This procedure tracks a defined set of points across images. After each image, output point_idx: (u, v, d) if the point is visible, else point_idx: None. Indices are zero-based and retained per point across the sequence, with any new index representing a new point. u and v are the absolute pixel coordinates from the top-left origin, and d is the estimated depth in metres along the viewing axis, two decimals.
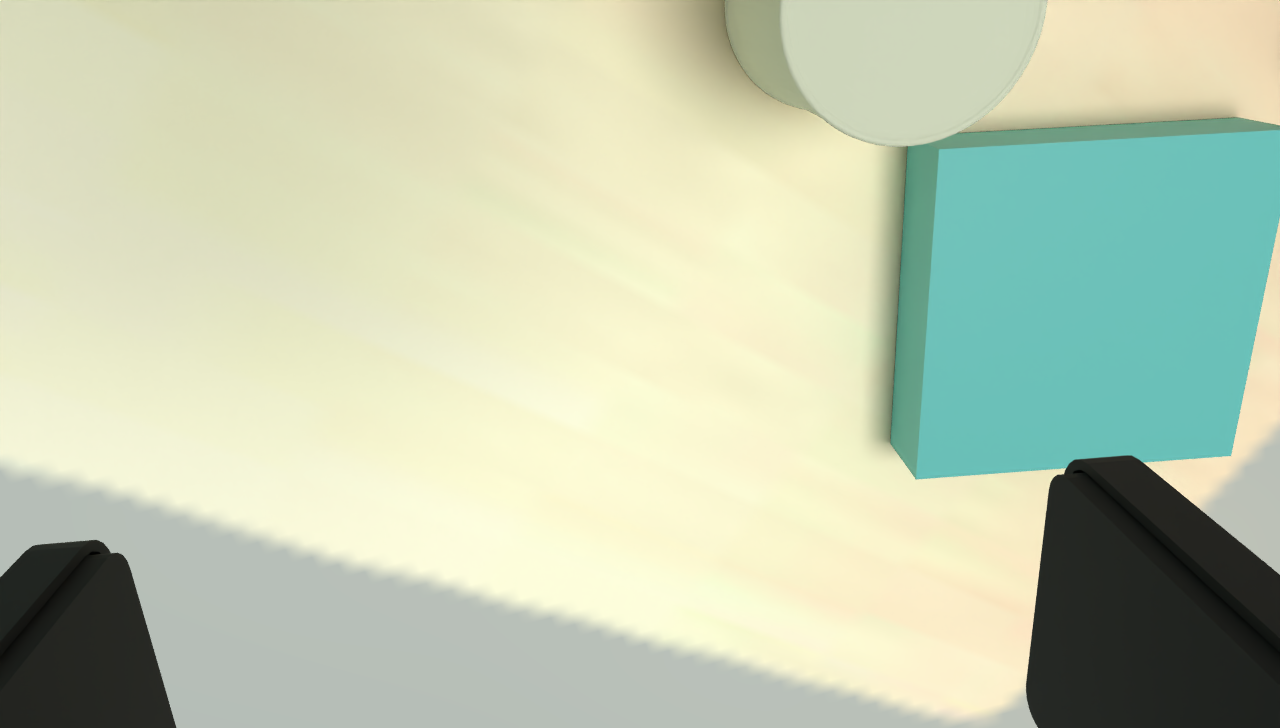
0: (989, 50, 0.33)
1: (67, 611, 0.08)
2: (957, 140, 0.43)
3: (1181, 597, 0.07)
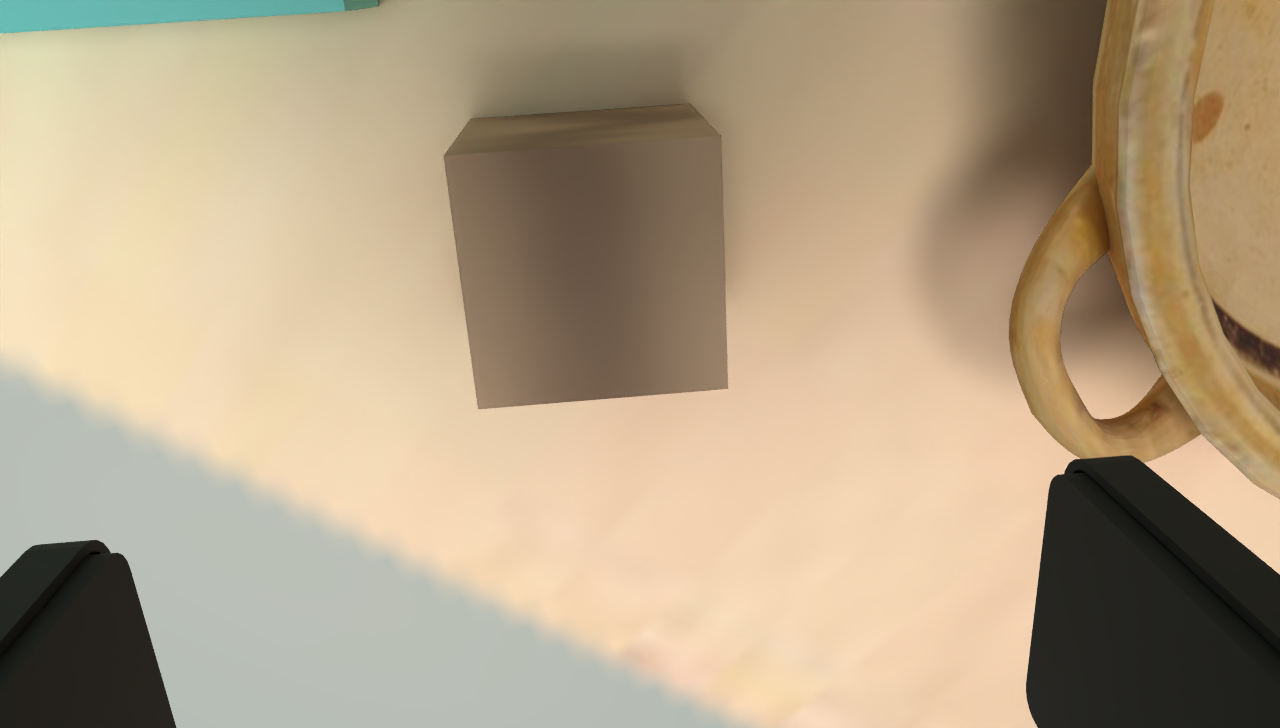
0: None
1: (67, 611, 0.08)
2: None
3: (1181, 598, 0.07)
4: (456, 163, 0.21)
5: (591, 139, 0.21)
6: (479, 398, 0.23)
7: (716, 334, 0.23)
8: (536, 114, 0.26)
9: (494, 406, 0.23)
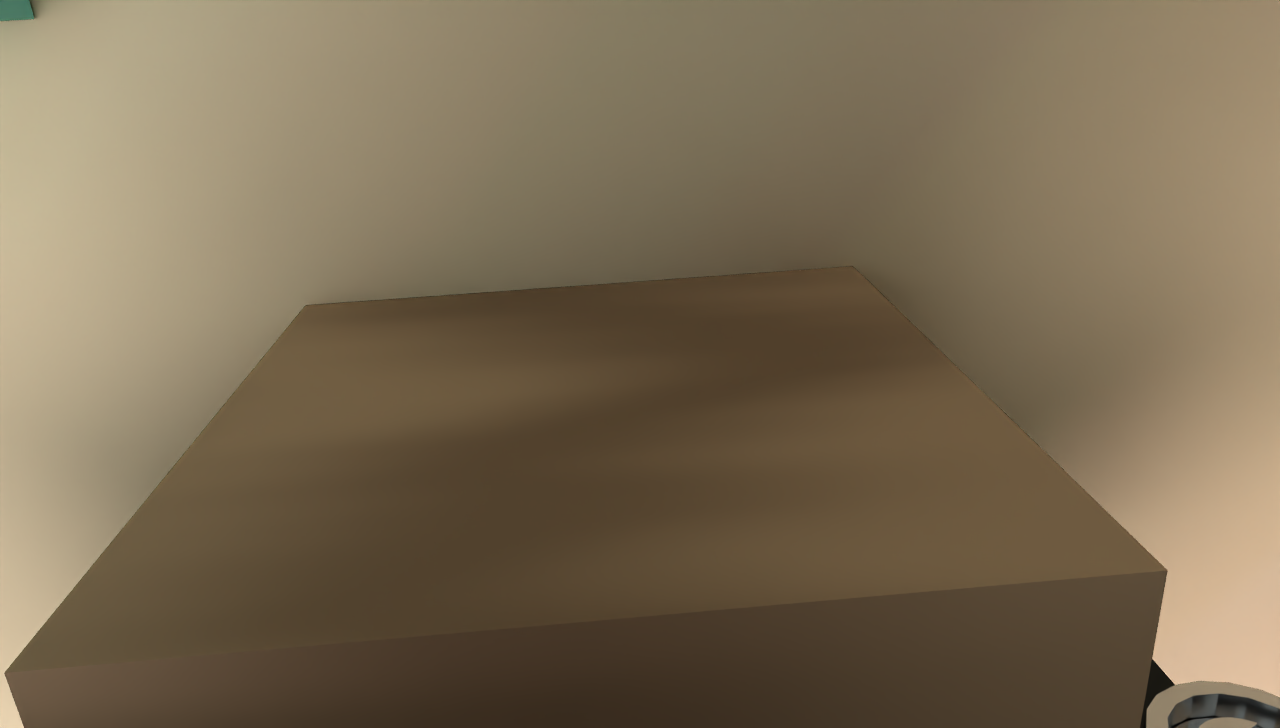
0: None
1: None
2: None
3: None
4: (64, 697, 0.05)
5: (631, 536, 0.06)
6: None
7: None
8: (471, 296, 0.10)
9: None
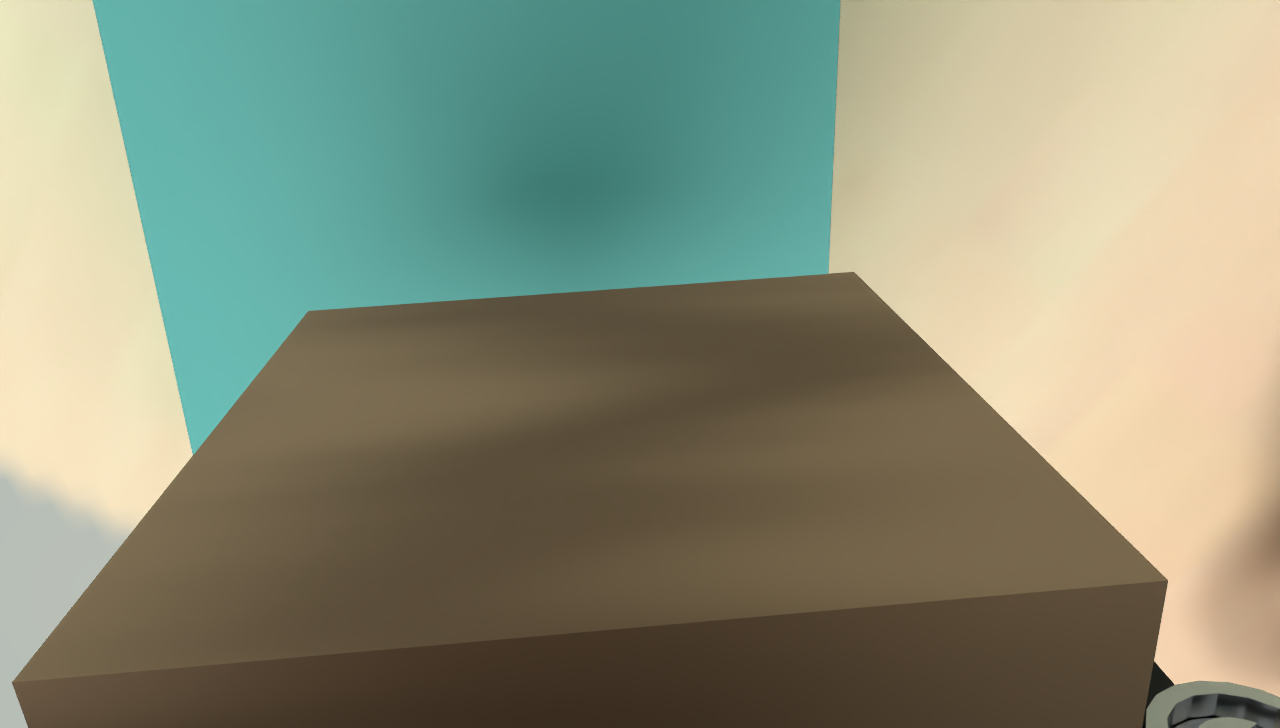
0: None
1: None
2: None
3: None
4: (72, 706, 0.05)
5: (634, 545, 0.06)
6: None
7: None
8: (473, 301, 0.10)
9: None
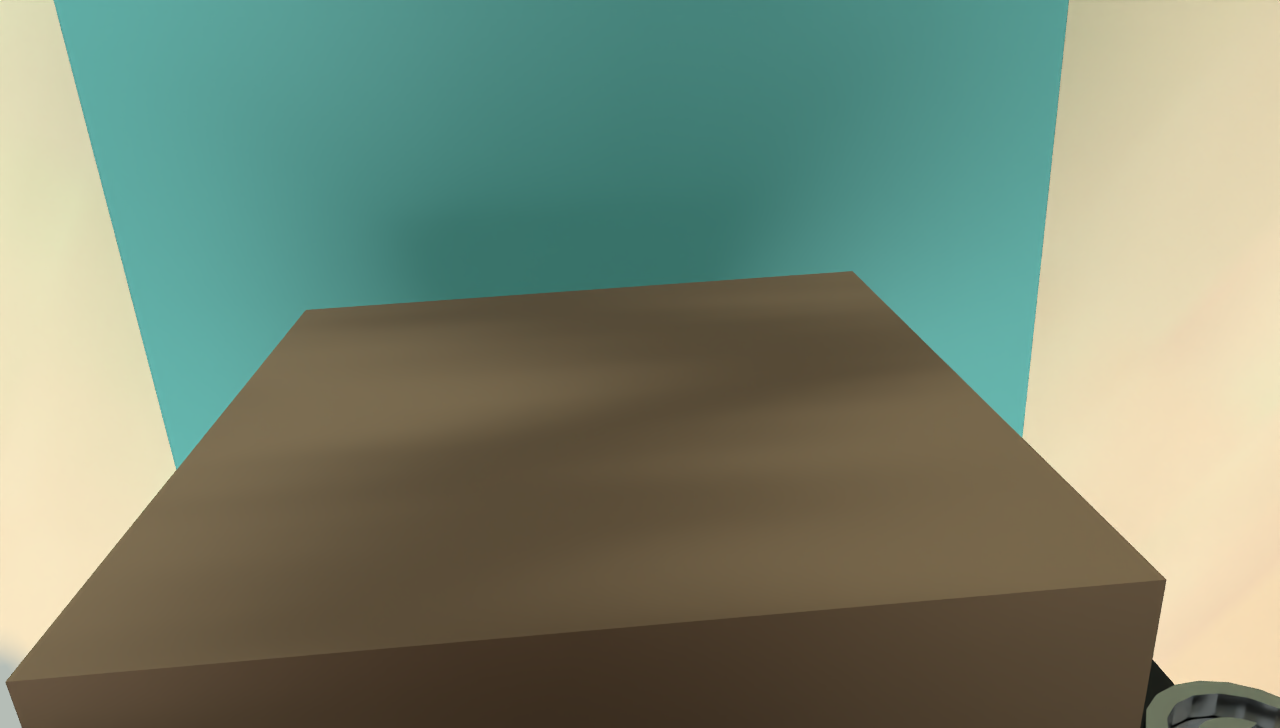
0: None
1: None
2: None
3: None
4: (66, 706, 0.05)
5: (631, 544, 0.06)
6: None
7: None
8: (471, 301, 0.10)
9: None
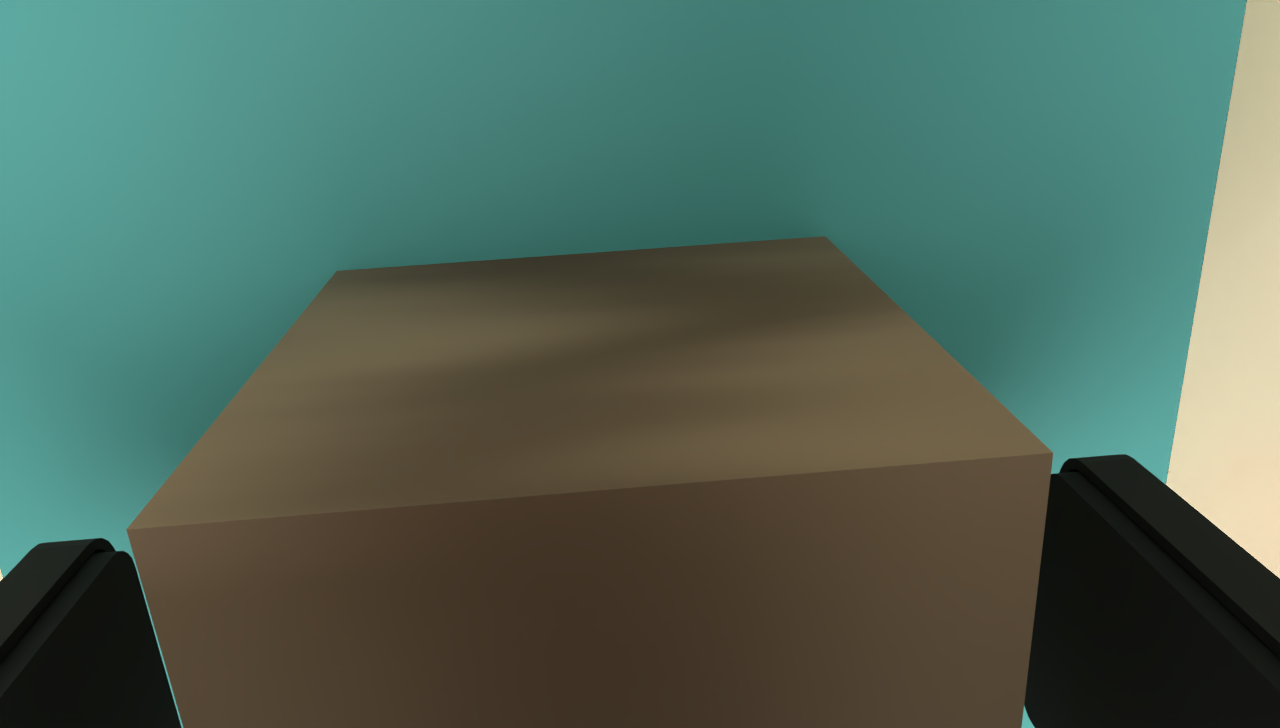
0: None
1: (73, 608, 0.08)
2: None
3: (1174, 596, 0.07)
4: (172, 550, 0.06)
5: (624, 435, 0.07)
6: None
7: None
8: (484, 262, 0.12)
9: None
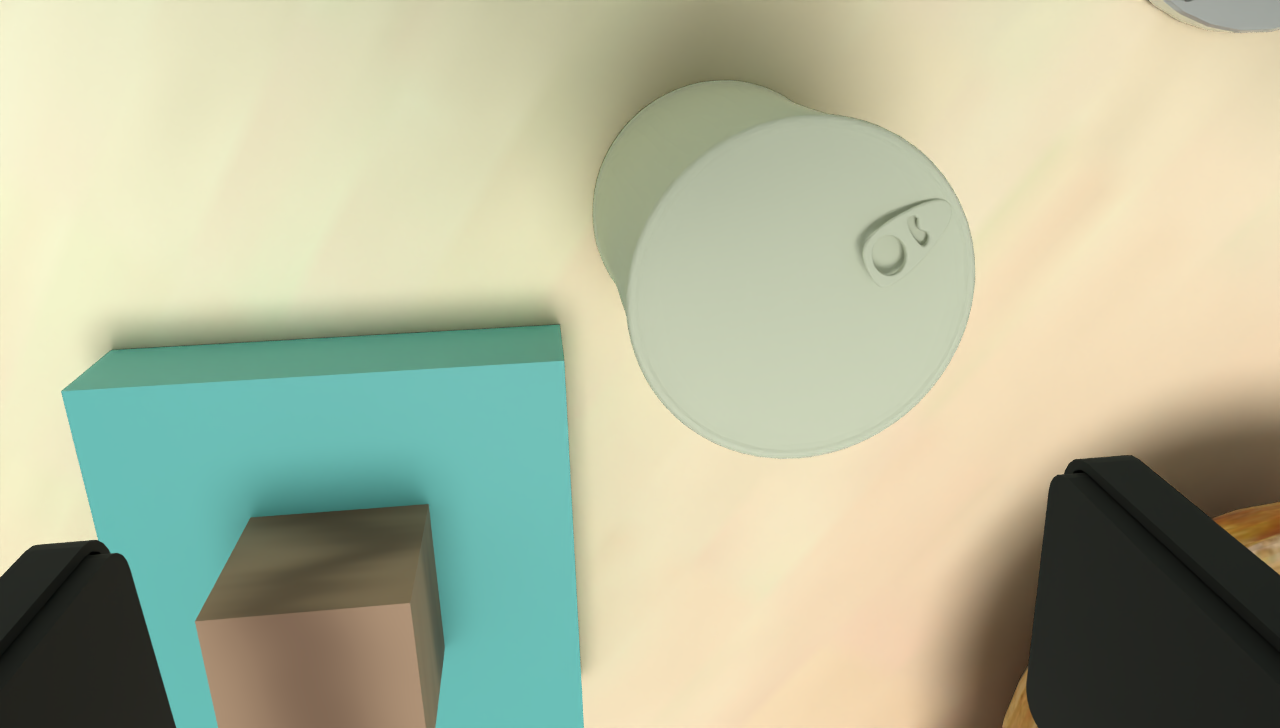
0: (745, 398, 0.25)
1: (67, 611, 0.08)
2: None
3: (1181, 597, 0.07)
4: (205, 626, 0.27)
5: (316, 596, 0.28)
6: None
7: None
8: (303, 514, 0.33)
9: None
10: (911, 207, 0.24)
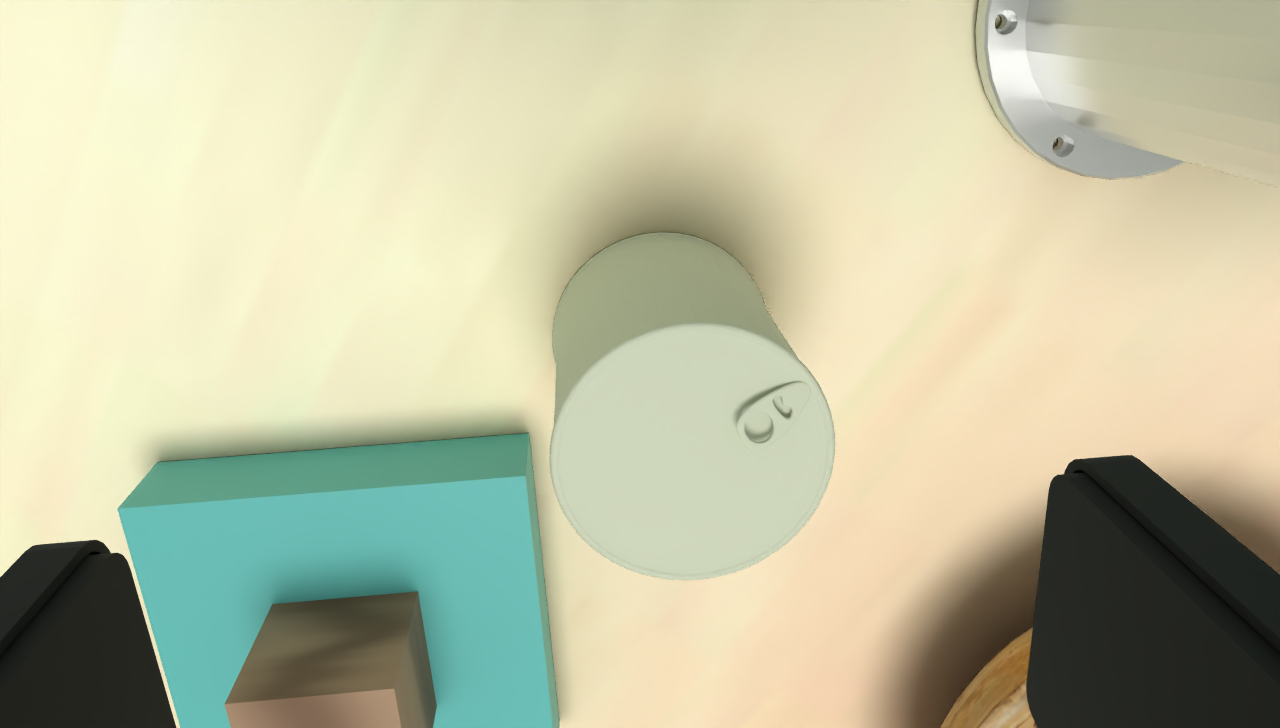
0: (651, 535, 0.31)
1: (67, 611, 0.08)
2: (530, 486, 0.41)
3: (1181, 598, 0.07)
4: (232, 707, 0.34)
5: (320, 681, 0.35)
6: None
7: None
8: (315, 601, 0.40)
9: None
10: (776, 389, 0.30)
